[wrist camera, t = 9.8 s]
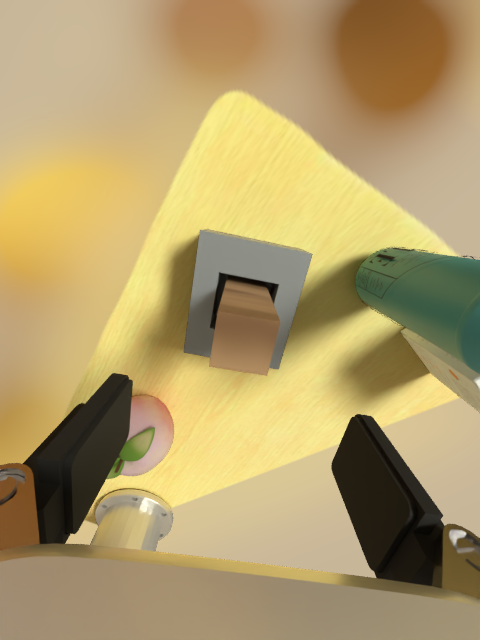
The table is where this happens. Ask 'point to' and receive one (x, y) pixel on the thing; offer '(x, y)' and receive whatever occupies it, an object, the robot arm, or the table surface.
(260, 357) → the walnut peg
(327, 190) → the table surface
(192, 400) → the table surface
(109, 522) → the robot arm
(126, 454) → the decorative fruit
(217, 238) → the socket block
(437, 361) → the small box
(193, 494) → the table surface
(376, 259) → the beverage bottle
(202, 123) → the table surface
